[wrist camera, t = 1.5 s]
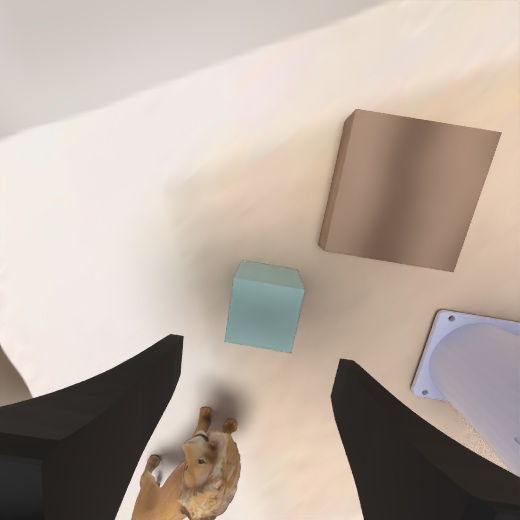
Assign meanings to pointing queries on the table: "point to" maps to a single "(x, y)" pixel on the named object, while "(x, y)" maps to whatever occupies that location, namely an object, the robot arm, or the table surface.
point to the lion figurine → (194, 477)
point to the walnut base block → (405, 189)
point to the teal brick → (264, 306)
